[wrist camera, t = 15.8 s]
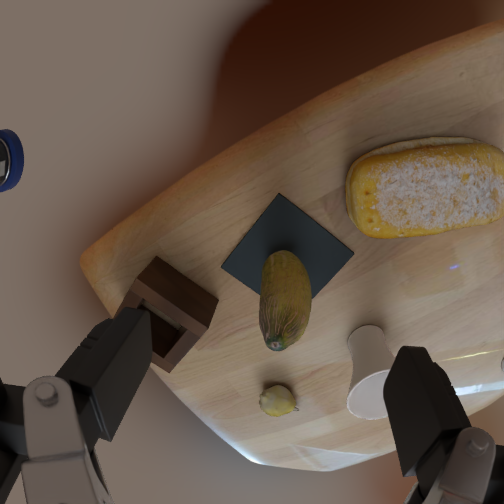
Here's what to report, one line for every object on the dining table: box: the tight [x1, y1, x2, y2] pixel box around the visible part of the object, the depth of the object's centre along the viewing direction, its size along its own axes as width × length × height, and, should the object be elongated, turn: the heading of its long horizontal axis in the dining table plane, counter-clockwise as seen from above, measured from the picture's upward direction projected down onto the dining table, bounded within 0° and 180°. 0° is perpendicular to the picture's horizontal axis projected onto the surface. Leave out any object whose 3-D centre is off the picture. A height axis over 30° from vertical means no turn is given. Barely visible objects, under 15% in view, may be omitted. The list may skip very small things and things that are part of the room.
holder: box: [113, 256, 219, 373], centre depth 48 cm, size 12×12×8 cm
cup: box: [346, 325, 395, 419], centre depth 45 cm, size 10×10×14 cm
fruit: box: [259, 385, 299, 417], centre depth 55 cm, size 6×6×10 cm
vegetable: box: [259, 250, 312, 351], centre depth 38 cm, size 6×6×20 cm
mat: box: [221, 193, 354, 299], centre depth 47 cm, size 14×14×1 cm
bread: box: [345, 137, 504, 239], centre depth 37 cm, size 13×26×8 cm, turn 104°
